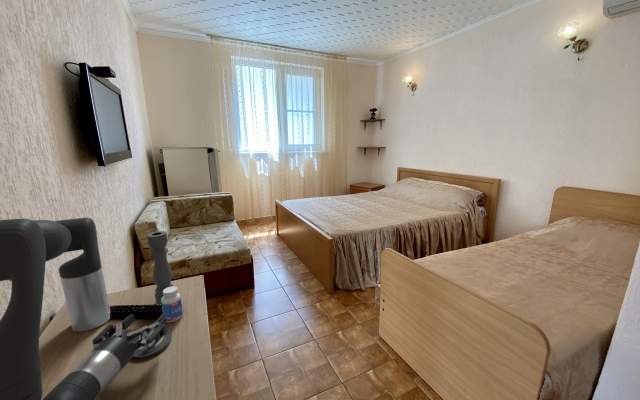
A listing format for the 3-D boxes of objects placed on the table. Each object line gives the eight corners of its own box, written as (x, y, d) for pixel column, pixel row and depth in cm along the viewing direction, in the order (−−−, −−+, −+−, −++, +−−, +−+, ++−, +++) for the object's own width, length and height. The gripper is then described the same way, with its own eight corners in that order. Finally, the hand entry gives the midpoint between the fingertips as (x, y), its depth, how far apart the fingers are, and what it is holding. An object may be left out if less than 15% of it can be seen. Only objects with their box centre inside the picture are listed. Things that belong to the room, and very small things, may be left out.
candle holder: (161, 296, 95) (151, 231, 89) (179, 295, 95) (170, 230, 90) (152, 306, 89) (141, 237, 83) (171, 305, 89) (162, 236, 84)
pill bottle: (174, 324, 80) (170, 295, 78) (159, 321, 81) (155, 293, 79) (186, 313, 85) (183, 286, 83) (172, 310, 86) (168, 284, 84)
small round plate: (119, 353, 69) (118, 349, 68) (153, 328, 78) (153, 325, 78) (146, 363, 66) (146, 359, 65) (179, 336, 75) (179, 332, 74)
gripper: (132, 351, 55) (173, 304, 70) (63, 351, 54) (120, 304, 70) (137, 380, 56) (176, 328, 72) (70, 381, 56) (124, 329, 72)
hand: (149, 316), depth 71 cm, fingers open, 8 cm apart
